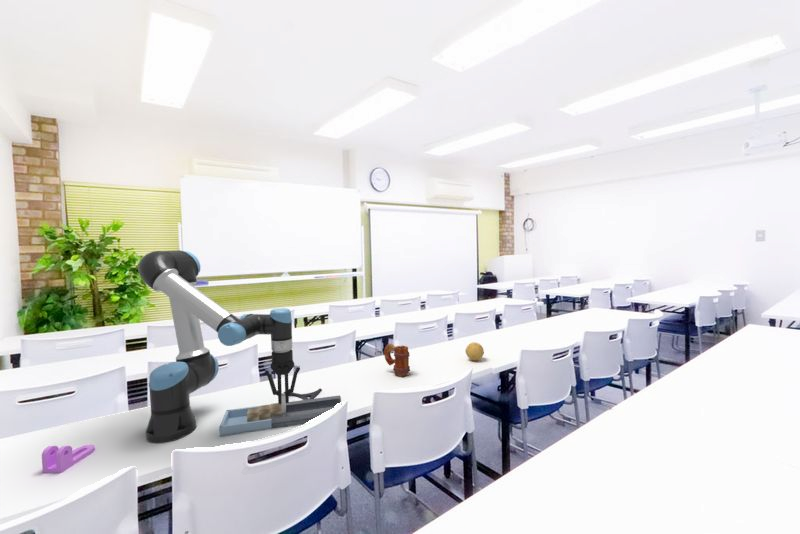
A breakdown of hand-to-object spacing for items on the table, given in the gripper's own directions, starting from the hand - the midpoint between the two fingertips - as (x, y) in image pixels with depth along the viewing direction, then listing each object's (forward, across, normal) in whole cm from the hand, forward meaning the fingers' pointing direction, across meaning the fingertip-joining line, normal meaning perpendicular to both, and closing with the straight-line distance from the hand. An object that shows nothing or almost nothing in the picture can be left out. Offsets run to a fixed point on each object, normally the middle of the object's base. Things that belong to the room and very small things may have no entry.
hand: (283, 411), depth 137 cm
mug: (+3, +54, +33) cm, 63 cm away
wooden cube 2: (+1, -7, 0) cm, 7 cm away
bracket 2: (+4, +6, +20) cm, 21 cm away
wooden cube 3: (+1, -3, 0) cm, 3 cm away
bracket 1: (+3, -62, -8) cm, 63 cm away
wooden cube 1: (+2, -11, 0) cm, 11 cm away
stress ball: (+3, +101, +39) cm, 109 cm away
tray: (+3, -13, 0) cm, 13 cm away
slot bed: (+3, +9, 0) cm, 9 cm away
